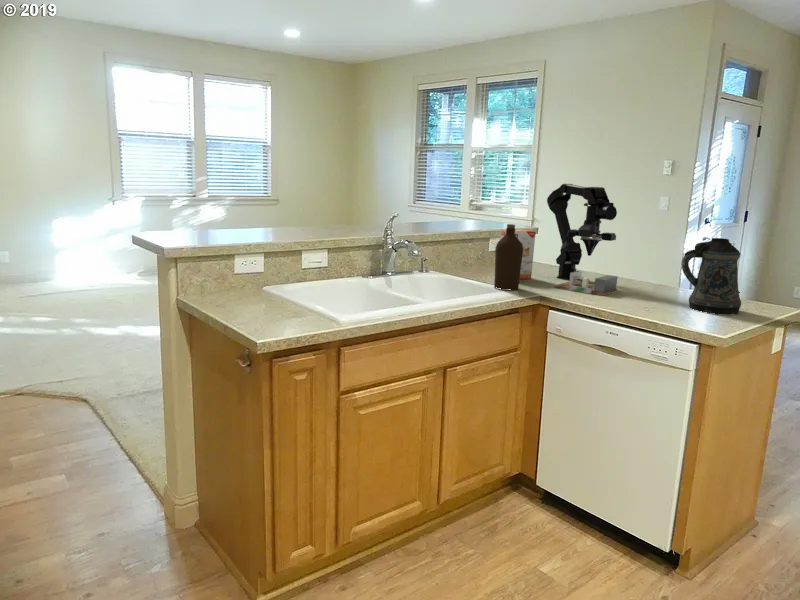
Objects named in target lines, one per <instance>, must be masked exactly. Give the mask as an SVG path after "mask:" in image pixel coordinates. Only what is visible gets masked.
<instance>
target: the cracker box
mask: <svg viewBox="0 0 800 600" xmlns="http://www.w3.org/2000/svg"><path fill="white" fill-rule="evenodd" d="M536 232H537V231H535V230H532V229H515V236H516V237H517V238H518V240H519V241H520V242H521V244H522V246H523V255H522V263H521V270H520V278H519V280H531V279H532V271H533V264H534V263H533V262H534V254H535V253H534V252H535V243H536V242H535V241H536ZM505 235H506V228H505V229H500V235H499V236H500V237H499V241H500V240H501V239H502V238H503V237H504V236H505Z"/></svg>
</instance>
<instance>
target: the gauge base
mask: <svg viewBox="0 0 800 600" xmlns="http://www.w3.org/2000/svg"><path fill="white" fill-rule="evenodd" d="M569 282H570V280H569V281H566V282H561V283H558V284H555V285H554V289H559V290H560V289H561V290H567V291H571V292H575V293H580V294H581V293H582V294H587V295H596V296H597V295H598V296H606V295H609V293H610V294H612V292H613V293H616V292H617V291H618V288H616V289H614V290H611V291H608V292H605V293H602V292H596V291H594V286H595V284H590V283H588V288H585V287H582V282H581V283H579V284H575V285H569ZM615 291H616V292H615Z"/></svg>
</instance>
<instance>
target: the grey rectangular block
mask: <svg viewBox="0 0 800 600" xmlns="http://www.w3.org/2000/svg"><path fill="white" fill-rule="evenodd" d="M594 285H595V286H594V291H596V292H602V293H605V292H608V291H611V290H614V289H617V285H618V276H616V275H610V274H608V275H603V276H599V277H595V278H594Z"/></svg>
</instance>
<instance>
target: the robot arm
mask: <svg viewBox="0 0 800 600" xmlns="http://www.w3.org/2000/svg"><path fill="white" fill-rule="evenodd" d="M572 195H575V196H579V197H582V198H583V199H584V200H586V202H585V203H584V204H583V206H584V207H586V214H585V215H586V216H585V220H584V222H583V224H582V225H581V226H580V227H578V229H577V228H576V229H574V228H573V229H571V226H570V225H571V224H570V222H569V217H568V214H567V208H568V205H569V203H568V202H569V201H570V200H571V197H572ZM546 203H547V205H548V208H549V210H550V211H551V212H552V213H553V215H554V217H555V221H556V224H557V228H558V232H559V236H560V240H561V246H560V250H559V251H560V254H559V255H558V256H557V258H555V261H556V265H558V275H557V276H556V279H562V280H569V281H570V273H571V272H575V271H577V268H576V267H577V266H579V264H580V262H581V260H582V257H583V253H582V252H583V250H582V248H581V243H580V242H575V240H574V238H575V237H580V238H579V240H581V241H582V242H583V244H584V247H585V250H586V253H587V256H589V257H591V256H592V254H593V252H594V250H595V249H596V247H597V245H598V244H599V242H603V241H609V242H611V241H616V239H617V235H616V233H615V232H606V231H605V232H602V233H601V230H600V228H601V227H600V226H601V225H600V224H602V220H606V221H607V220H608V221H613V220H615V219H616V216H617V214H618V211H617V208H616V206H615V205H614V204H615V203H614V202H610V199H609V197H608V194H607V192H606V189H605V187H603V186H580V185H576V184H573V183H563V184H561V185H560V186H559V187H557V189H555V190H553V191H552V192H551V193H550V194H549V195H548V196H547V198H546ZM576 265H577V266H576Z"/></svg>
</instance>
